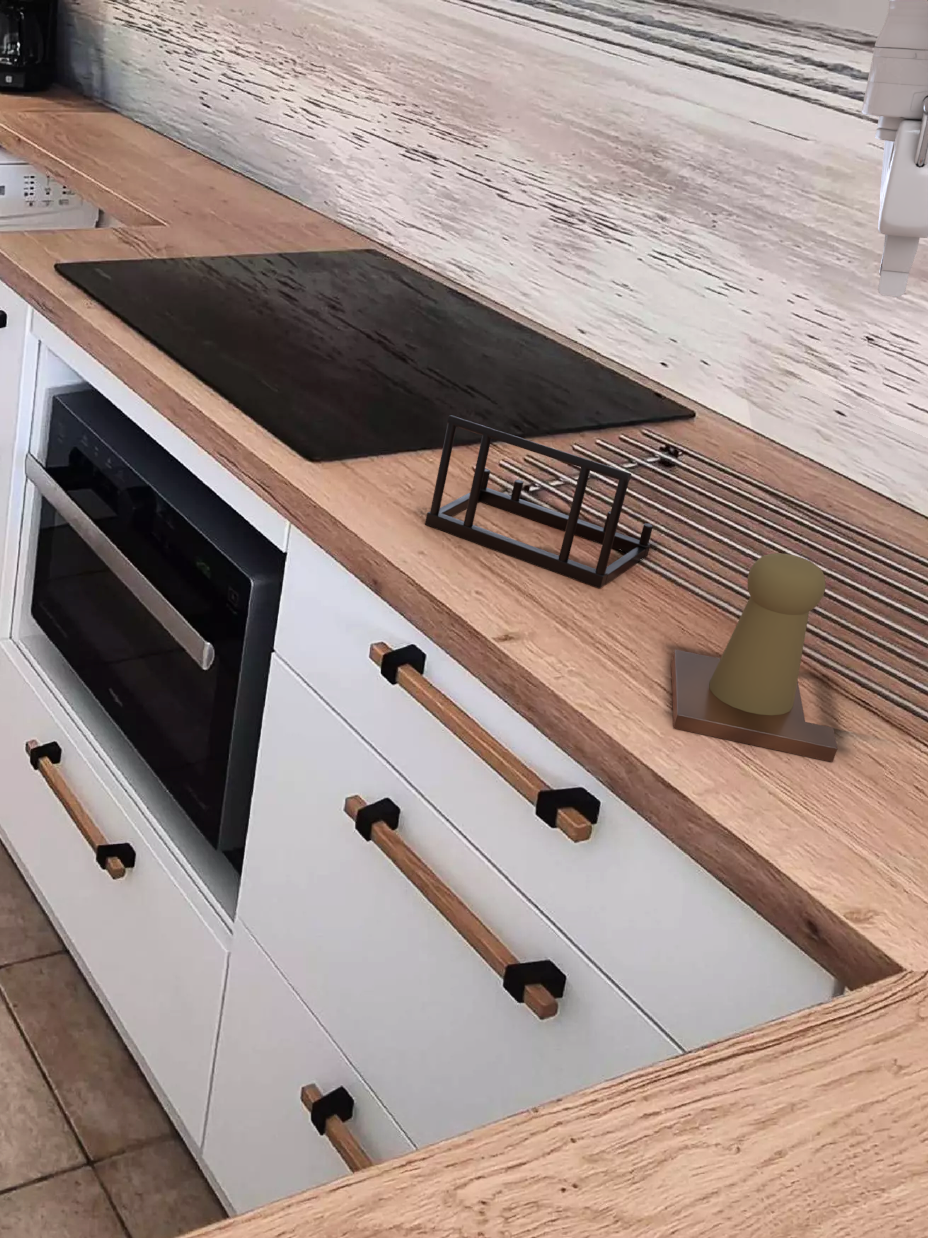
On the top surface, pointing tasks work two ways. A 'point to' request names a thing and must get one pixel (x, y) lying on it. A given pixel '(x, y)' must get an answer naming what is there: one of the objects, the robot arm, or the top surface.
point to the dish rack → (537, 511)
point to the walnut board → (741, 714)
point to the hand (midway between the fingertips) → (890, 286)
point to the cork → (769, 636)
